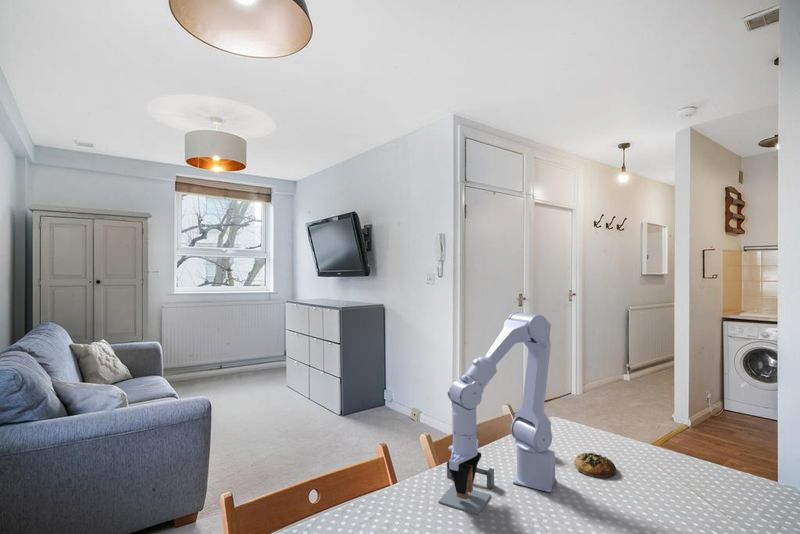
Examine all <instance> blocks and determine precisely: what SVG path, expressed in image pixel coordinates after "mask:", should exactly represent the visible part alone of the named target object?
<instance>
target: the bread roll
mask: <svg viewBox="0 0 800 534" xmlns="http://www.w3.org/2000/svg"><path fill="white" fill-rule="evenodd" d="M573 459H574V460H573V465H574V466H575V469H577V470H578V472H580V473H581V472H582V473H581V474H583V473H584V475H585V474H586V476H588V475H590V476H589V477H592V476H594V478H601V477H605V478H610V477H611V478H612V477H614V476H615V474H616V472H617V467H616V465H615V464H614V462H613V461H612V460H610V459H609V458H607V456H602V455H601V454H597V453H594V452H582V453H580V454H577V456H576V457H575V458H573Z"/></svg>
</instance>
